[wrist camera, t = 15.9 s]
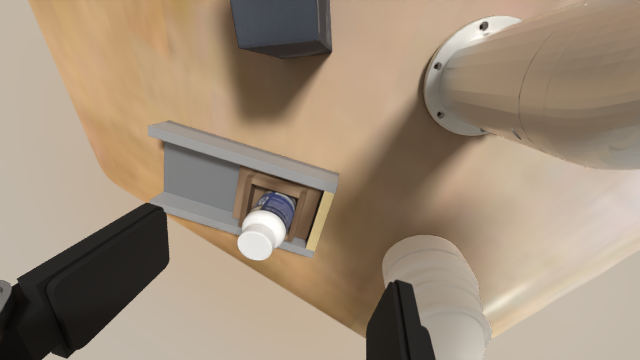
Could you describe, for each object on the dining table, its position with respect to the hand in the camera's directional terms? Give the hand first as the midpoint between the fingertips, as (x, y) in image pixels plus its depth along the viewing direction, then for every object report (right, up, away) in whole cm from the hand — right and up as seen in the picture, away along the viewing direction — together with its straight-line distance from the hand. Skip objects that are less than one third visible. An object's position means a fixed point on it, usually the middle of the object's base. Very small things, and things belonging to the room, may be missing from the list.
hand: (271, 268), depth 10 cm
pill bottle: (-4, 0, +26) cm, 26 cm away
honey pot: (+19, -11, +30) cm, 37 cm away
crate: (-4, +1, +27) cm, 27 cm away
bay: (-9, +3, +28) cm, 30 cm away
